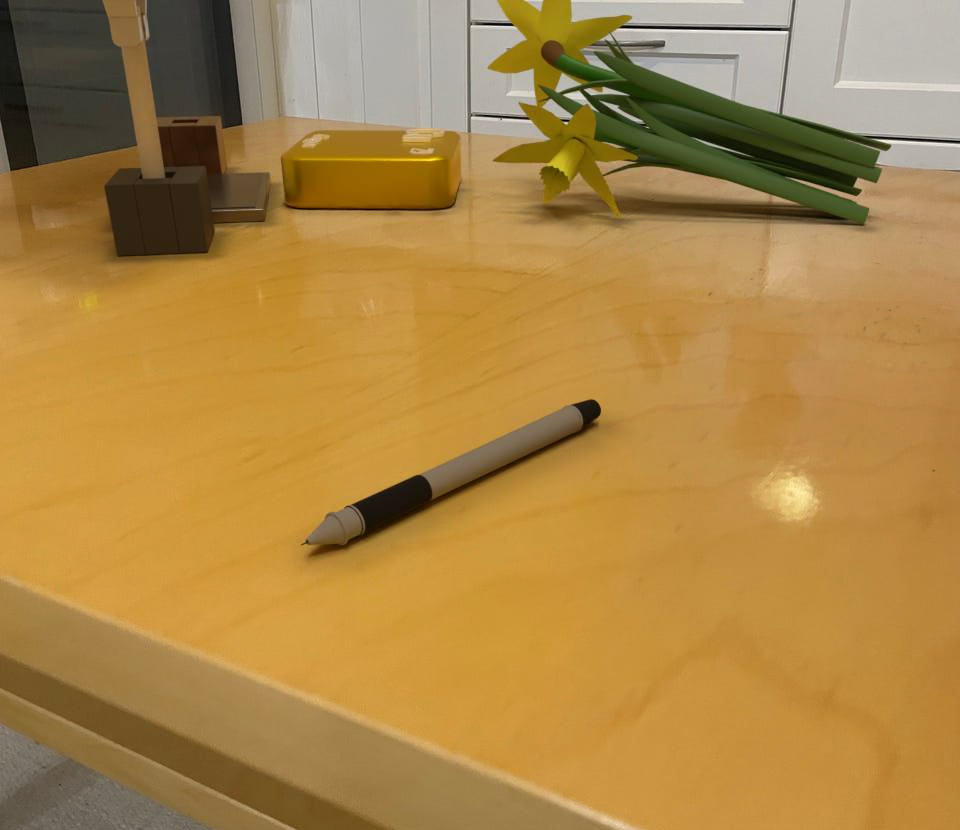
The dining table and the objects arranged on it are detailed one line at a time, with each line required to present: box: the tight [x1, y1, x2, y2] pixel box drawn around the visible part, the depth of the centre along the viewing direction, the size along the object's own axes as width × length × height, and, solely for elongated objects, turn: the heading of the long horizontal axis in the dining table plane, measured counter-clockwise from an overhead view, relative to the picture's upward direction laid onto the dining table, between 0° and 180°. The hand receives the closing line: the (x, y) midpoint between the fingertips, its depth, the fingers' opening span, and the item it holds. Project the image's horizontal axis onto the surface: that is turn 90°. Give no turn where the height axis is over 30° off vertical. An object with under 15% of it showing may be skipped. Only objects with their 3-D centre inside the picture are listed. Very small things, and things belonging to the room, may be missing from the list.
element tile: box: [280, 127, 462, 210], centre depth 86 cm, size 15×15×5 cm
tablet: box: [207, 171, 272, 224], centre depth 83 cm, size 12×16×1 cm
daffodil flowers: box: [487, 0, 892, 226], centre depth 78 cm, size 17×15×35 cm
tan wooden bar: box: [120, 5, 165, 179], centre depth 67 cm, size 2×2×14 cm
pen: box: [300, 398, 602, 546], centre depth 38 cm, size 1×16×1 cm, turn 135°
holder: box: [103, 166, 216, 257], centre depth 70 cm, size 6×6×5 cm
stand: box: [156, 115, 228, 174], centre depth 94 cm, size 6×6×5 cm
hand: (132, 44), depth 65 cm, fingers closed on tan wooden bar, 1 cm apart
